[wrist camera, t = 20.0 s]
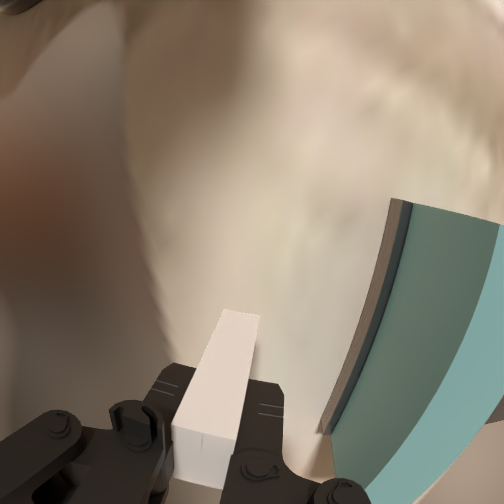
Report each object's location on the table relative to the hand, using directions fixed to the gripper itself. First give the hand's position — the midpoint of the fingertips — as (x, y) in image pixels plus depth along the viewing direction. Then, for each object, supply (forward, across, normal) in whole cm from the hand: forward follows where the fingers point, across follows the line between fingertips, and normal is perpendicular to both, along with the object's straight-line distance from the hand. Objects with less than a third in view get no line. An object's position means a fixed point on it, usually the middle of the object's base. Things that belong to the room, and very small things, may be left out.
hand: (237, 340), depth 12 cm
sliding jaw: (+1, +9, 0) cm, 9 cm away
